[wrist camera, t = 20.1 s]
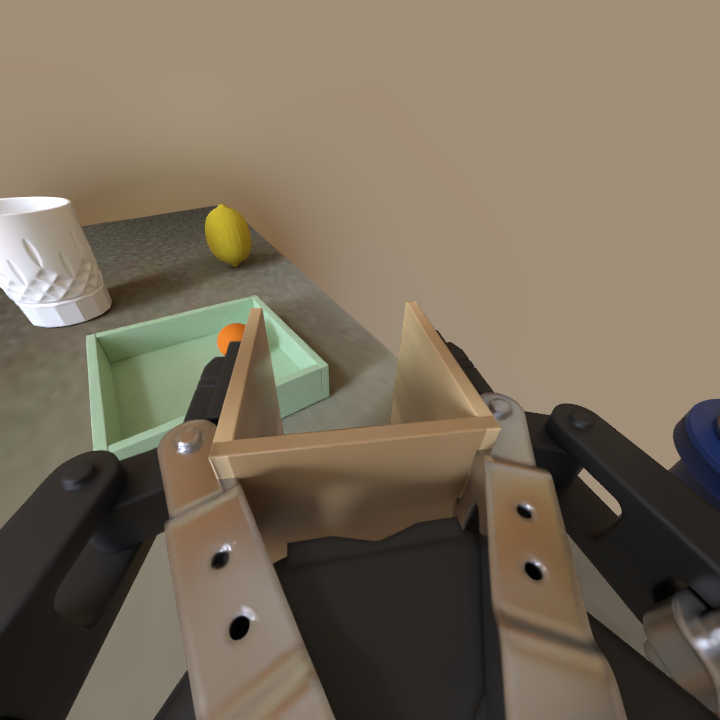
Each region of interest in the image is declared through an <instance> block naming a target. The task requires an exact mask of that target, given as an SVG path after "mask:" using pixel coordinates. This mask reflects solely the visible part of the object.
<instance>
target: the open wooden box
mask: <svg viewBox="0 0 720 720" xmlns="http://www.w3.org/2000/svg"><path fill="white" fill-rule="evenodd" d="M500 430H501V426H500V424H499V423H498V421H497V420H496V418H495V417H494V416H493V414H492V413H491V411H490V410H489V408H488V407H487V405H486V404H485V402H484V401H483V399H482V398H481V396H480V395H479V393H478V392H477V390H476V389H475V388H474V386H473V385H472V383H471V382H470V380H469V379H468V377H467V376H466V374H465V373H464V371H463V370H462V368H461V367H460V365H459V364H458V362H457V361H456V359H455V358H454V357H453V355H452V354H451V352H450V351H449V349H448V348H447V346H446V345H445V343H444V342H443V340H442V339H441V337H440V336H439V334H438V333H437V331H436V330H435V329H434V327H433V326H432V324H431V323H430V321H429V320H428V318H427V317H426V315H425V314H424V312H423V311H422V309H421V308H420V306H419V305H418V303H417V302H406V308H405V315H404V323H403V331H402V338H401V345H400V353H399V360H398V368H397V375H396V382H395V390H394V397H393V405H392V412H391V420H390V425H381V426H370V427H360V428H350V429H339V430H329V431H319V432H308V433H298V434H287V435H284V432H283V426H282V420H281V414H280V408H279V402H278V396H277V390H276V385H275V379H274V373H273V367H272V361H271V355H270V349H269V343H268V338H267V332H266V326H265V320H264V314H263V309H262V308H251V309H250V312H249V316H248V319H247V323H246V326H245V330H244V333H243V337H242V341H241V344H240V348H239V351H238V355H237V358H236V362H235V365H234V369H233V372H232V376H231V380H230V383H229V387H228V390H227V394H226V397H225V401H224V404H223V408H222V411H221V415H220V419H219V422H218V426H217V429H216V433H215V436H214V440H213V443H212V447H211V450H210V454H209V461H210V463H211V466H212V468H213V470H214V473H215V475H216V477H217V479H227V478H236V477H237V478H238V481H239V483H240V485H241V487H242V489H243V492H244V494H245V497H246V499H247V502H248V504H249V507H250V509H251V512H252V514H253V517H254V519H255V522H256V524H257V527H258V529H259V532H260V534H261V537H262V539H263V542H264V544H265V547H266V549H267V552H268V554H269V557H270V559H271V562H272V564H273V563H275V562H277V561H278V560H280V559H282V558H284V557H287V543H289V542H296V541H302V540H309V539H315V538H321V537H328V536H337V537H345V538H353V539H361V540H370V541H380V540H382V539H385V538H387V537H389V536H391V535H393V534H395V533H397V532H399V531H401V530H403V529H405V528H407V527H410V526H412V525H414V524H416V523H418V522H424V521H431V520H437V519H443V518H450V517H452V514H453V507H454V504H455V502H456V499H457V498H462V495H463V493H464V491H465V488H466V486H467V484H468V481H469V478H470V474H471V465H472V460H473V458H474V456H475V453H476V451H477V450H483V449H491V448H493V446H494V444H495V441H496V439H497V437H498V435H499V433H500Z"/></svg>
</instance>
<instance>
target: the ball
mask: <svg viewBox="0 0 720 720" xmlns="http://www.w3.org/2000/svg"><path fill="white" fill-rule="evenodd" d="M245 326H246V325H244V324H241V323H232V324H229V325H227V326H225V327H224V328H223V329H222V330H221V331H220V333H219V334H218V338H217V345H218V348H219V350H220V352H221V353H222V354H223V355H224V356H225V354H226V351H227V348H228V345H229V342H231V341H242V337H243V333H244V330H245Z"/></svg>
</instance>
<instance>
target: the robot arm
mask: <svg viewBox="0 0 720 720" xmlns="http://www.w3.org/2000/svg"><path fill="white" fill-rule="evenodd" d="M436 331H437V330H436ZM437 333H438V334H439V336H440V337H441V339H442V340H443V342H444V343H445V345H446V346H447V348H448V349H449V351H450V352H451V354H452V355H453V357H454V358H455V359H456V361H457V362H458V364H459V365H460V367H461V368H462V370H463V371H464V373H465V374H466V376H467V377H468V379H469V380H470V382H471V383H472V385H473V386H474V388H475V389H476V390H477V392H478V393H479V395H480V396H481V398H482V399H483V401H484V402H485V404H486V405H487V407H488V408H489V410H490V411H491V413H492V414H493V416H494V417H495V418H496V420H497V421H498V423H499V424H500V426H501V430H500V433H499V435H498V437H497V439H496V441H495V444H494V446H493V448H491V449H483V450H477V451H476V453H475V456H474V458H473V460H472V465H471V474H470V478H469V481H468V484H467V486H466V488H465V491H464V493H463V495H462V498H457V499H456V502H455V504H454V507H453V514H452V517H450V518H443V519H437V520H431V521H424V522H418V523H416V524H414V525H412V526H410V527H407V528H405V529H403V530H401V531H399V532H397V533H395V534H393V535H391V536H389V537H387V538H385V539H382V540H380V541H370V540H361V539H353V538H345V537H337V536H328V537H321V538H315V539H309V540H302V541H296V542H289V543H287V557H284V558H282V559H280V560H278V561H277V562H275V563H273V564H272V562H271V559H270V557H269V554H268V552H267V549H266V547H265V544H264V542H263V539H262V537H261V534H260V532H259V529H258V527H257V524H256V522H255V519H254V517H253V514H252V512H251V509H250V507H249V504H248V502H247V499H246V497H245V494H244V492H243V489H242V487H241V485H240V483H239V481H238V478H237V477H236V478H227V479H217V477H216V475H215V473H214V470H213V468H212V466H211V463H210V461H209V454H210V450H211V447H212V443H213V440H214V436H215V433H216V429H217V426H218V422H219V419H220V415H221V411H222V408H223V404H224V401H225V397H226V394H227V390H228V387H229V383H230V380H231V376H232V372H233V369H234V365H235V362H236V358H237V355H238V351H239V348H240V344H241V341H231V342H229V345H228V348H227V351H226V354H225V356H222V357H214V358H213V359H212V360H211V361H210V362H209V363H208V364H207V365H206V366H205V367H204V369H203V372H202V375H201V377H200V380H199V382H198V385H197V389H196V390H195V393H194V395H193V398H192V400H191V403H190V406H189V408H188V411H187V413H186V416H185V419H184V421H183V423H182V424H179V425H177V426H176V427H174V428H172V429H171V430H170V431H168V432H167V433H166V434H165V435H164V436H163V437H162V439H161V440H160V442H159V445H158V447H156V448H154V449H152V450H149V451H146V452H143V453H140V454H137V455H134V456H131V457H128V458H125V459H122V460H119V459H118V458H117V456H116V455H115V454H114V453H112V452H110V451H105V450H96V451H90V452H87V453H83V454H81V455H78V456H76V457H74V458H72V459H70V460H68V461H66V462H65V463H63V464H62V465H60V466H59V467H58V468H56V469H55V470H54V471H53V472H52V473H51V474H50V475H49V476H48V477H47V478H46V479H45V480H44V482H43V483H42V484H41V485H40V486H39V487H38V488H37V489H36V491H35V492H34V493H33V494H32V495H31V496H30V497H29V498H28V499H27V501H26V502H25V503H24V504H23V505H22V506H21V507H20V508H19V510H18V511H17V512H16V513H15V514H14V515H13V516H12V517H11V518H10V520H9V521H8V522H7V523H6V524H5V525H4V526H3V527H2V528H1V530H0V720H65V719H66V717H67V715H68V713H69V711H70V709H71V707H72V705H73V703H74V701H75V699H76V697H77V695H78V693H79V691H80V689H81V687H82V685H83V683H84V681H85V679H86V677H87V675H88V673H89V671H90V669H91V667H92V665H93V663H94V661H95V659H96V657H97V655H98V653H99V651H100V649H101V647H102V645H103V643H104V641H105V639H106V637H107V635H108V633H109V631H110V629H111V627H112V625H113V623H114V621H115V619H116V617H117V615H118V612H119V610H120V608H121V606H122V604H123V602H124V600H125V598H126V596H127V594H128V592H129V590H130V588H131V586H132V584H133V582H134V580H135V578H136V576H137V574H138V572H139V570H140V568H141V566H142V564H143V562H144V560H145V558H146V556H147V554H148V552H149V550H150V548H151V546H152V544H153V542H154V540H155V538H156V536H157V534H160V533H162V532H164V531H165V538H166V544H167V550H168V556H169V562H170V568H171V574H172V580H173V585H174V591H175V597H176V603H177V609H178V615H179V621H180V627H181V633H182V639H183V645H184V651H185V657H186V662H187V668H188V669H187V671H186V672H185V674H184V675H183V677H182V678H181V680H180V681H179V683H178V684H177V686H176V687H175V688H174V690H173V691H172V693H171V694H170V696H169V697H168V699H167V700H166V702H165V703H164V705H163V706H162V708H161V709H160V710H159V712H158V713H157V715H156V716H155V718H154V719H153V720H720V512H719V511H718V510H717V509H716V508H714V507H713V506H712V505H711V504H709V503H708V502H707V501H706V500H704V499H703V498H702V497H701V496H699V495H698V494H697V493H695V492H694V491H693V490H692V489H690V488H689V487H688V486H687V485H685V484H684V483H683V482H682V481H680V480H679V479H678V478H676V477H675V476H674V475H673V474H671V473H670V472H669V471H668V470H666V469H665V468H664V467H663V466H661V465H660V464H659V463H658V462H656V461H655V460H654V459H652V458H651V457H650V456H649V455H647V454H646V453H645V452H644V451H642V450H641V449H640V448H639V447H637V446H636V445H634V444H633V443H632V442H631V441H630V440H628V439H627V438H626V437H625V436H623V435H622V434H621V433H619V432H618V431H617V430H616V429H615V428H613V427H612V426H611V425H609V424H608V423H607V422H606V421H604V420H603V419H602V418H601V417H599V416H598V415H597V414H595V413H594V412H592V411H590V410H588V409H586V408H583V407H581V406H578V405H574V404H560V405H558V406H556V407H555V408H554V410H553V411H552V413H551V415H545V414H538V413H532V412H525V411H524V410H523V408H522V407H521V406H520V405H519V404H518V403H517V402H516V401H515V400H513V399H511V398H510V397H507V396H505V395H502V394H499V393H494V392H493V390H492V389H491V388H490V386H489V385H488V384H487V382H486V381H485V380H484V378H482V376H481V374H480V373H479V372H478V370H477V369H476V368H474V365H473V364H472V362H471V361H470V360H469V359H468V357H467V356H466V354H465V353H464V352H463V350H462V349H460V348H459V347H457V346H456V345H454V344H453V343H451V342H448V343H447V342H446V341H445V340H444V339H443V337H442V336H441V334H440V333H439V331H437ZM714 429H715V432H716V435H717V437H718V438H719V440H720V414H719V415H718V416H717V417H716V418H715V421H714ZM583 468H585V469H586V470H587V471H588V472H589V473H590V474H591V475H592V476H593V477H594V478H595V479H596V480H597V481H598V482H599V483H600V484H601V485H602V486H603V487H604V488H605V489H606V490H607V491H608V492H609V493H611V495H612V496H613V497H614V498H615V499H616V500H617V501H618V503H619V504H620V507H621V509H622V516H621V518H619V517H618V516H617V515H616V514H615V513H614V512H613V511H612V510H611V509H610V508H609V507H608V506H607V505H606V504H605V503H604V502H603V501H602V500H601V499H600V498H599V497H598V496H597V495H596V494H595V493H594V492H593V491H592V490H591V489H590V488H589V487H588V486H587V485H586V484H585V483H584V482H583V481H582V480H581V479H580V478H579V477H578V476H577V475H578V474H579V473H580V472H581V470H582V469H583ZM566 532H567V533H568V535H569V536H570V537H571V538H572V539H573V541H574V542H575V543H576V544H577V546H578V547H579V548H580V549H581V550H582V552H583V553H584V554H585V555H586V556H587V558H588V559H589V560H590V561H591V563H592V564H593V565H594V566H595V567H596V569H597V570H598V571H599V572H600V574H601V575H602V576H603V577H604V578H605V580H606V581H607V582H608V583H609V584H610V586H611V587H612V588H613V589H614V591H615V592H616V593H617V594H618V595H619V597H620V598H621V599H622V600H623V601H624V603H625V604H626V605H627V606H628V608H629V609H630V610H631V611H632V612H633V614H634V615H635V616H636V617H637V618H638V620H639V621H640V622H641V623H642V625H643V627H644V631H645V635H646V637H647V640H646V641H645V642H644V649H645V652H646V655H647V657H648V658H649V660H650V661H651V662H652V663H651V662H650V661H648V660H647V659H646V658H645V657H643V656H642V655H641V654H640V653H638V652H637V651H636V650H635V649H633V648H632V647H631V646H630V645H628V644H627V643H626V642H624V641H623V640H622V639H621V638H619V637H618V636H617V635H616V634H614V633H613V632H612V631H611V630H609V629H608V628H607V627H606V626H604V625H603V624H602V623H601V622H599V621H598V620H597V619H596V618H594V617H593V616H592V615H591V614H589V613H588V612H587V611H586V608H585V604H584V600H583V596H582V592H581V588H580V584H579V581H578V577H577V573H576V569H575V565H574V561H573V557H572V553H571V549H570V545H569V541H568V537H567V533H566ZM665 673H666V674H669V676H670V677H668V676H667V675H666V674H665Z"/></svg>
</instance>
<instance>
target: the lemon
mask: <svg viewBox="0 0 720 720" xmlns="http://www.w3.org/2000/svg"><path fill="white" fill-rule="evenodd" d="M205 235H206V240H207V243H208V245H209V248H210V249H211V251H212V253H213V254H214V255H215V256H216V257H217V258H218V259H219V260H221V261H223V262H225V263H229V264H230V265H231V266H233V267H237V266H238V265H239V264H240V262H242V261H244V260H245V259H246V258H247V257H248V255H249V253H250V251H251V245H252V241H251V234H250V231H249V228H248V225H247V223H246V221H245V220H244V218H243V217H242V216H241V214H240V213H238V212H237V211H235V210H234V209H232V208H229V207H227V206H226V205H225V204H219V206H218V207H217V208H215V209H214V210H212V211H211V212H210V213H209V214H208V216H207V218H206V222H205Z"/></svg>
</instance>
